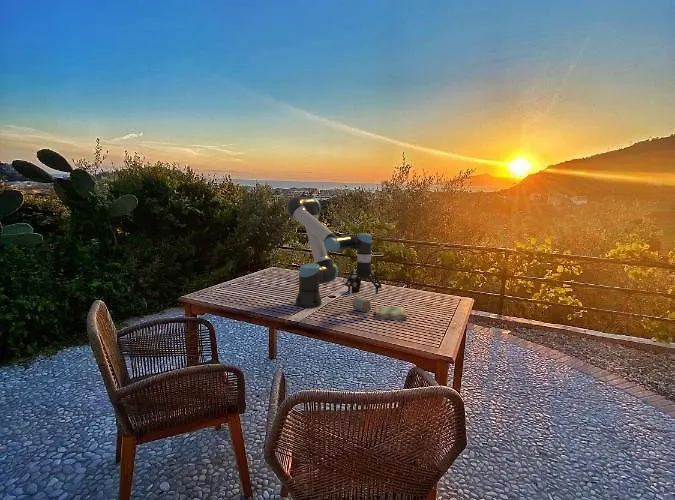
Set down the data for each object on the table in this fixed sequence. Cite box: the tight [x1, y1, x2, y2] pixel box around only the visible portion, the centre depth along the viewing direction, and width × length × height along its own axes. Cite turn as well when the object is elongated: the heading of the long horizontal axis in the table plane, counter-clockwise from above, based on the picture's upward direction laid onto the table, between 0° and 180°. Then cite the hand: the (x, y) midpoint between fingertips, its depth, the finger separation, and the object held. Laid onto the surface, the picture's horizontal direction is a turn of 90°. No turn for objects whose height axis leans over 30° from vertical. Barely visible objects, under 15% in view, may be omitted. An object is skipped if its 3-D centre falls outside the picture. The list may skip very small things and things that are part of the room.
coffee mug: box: [342, 274, 363, 293], centre depth 251 cm, size 12×9×10 cm
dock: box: [375, 305, 408, 321], centre depth 204 cm, size 16×12×3 cm
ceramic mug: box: [351, 295, 372, 313], centre depth 211 cm, size 11×8×8 cm
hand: (362, 298), depth 210 cm, fingers open, 13 cm apart
